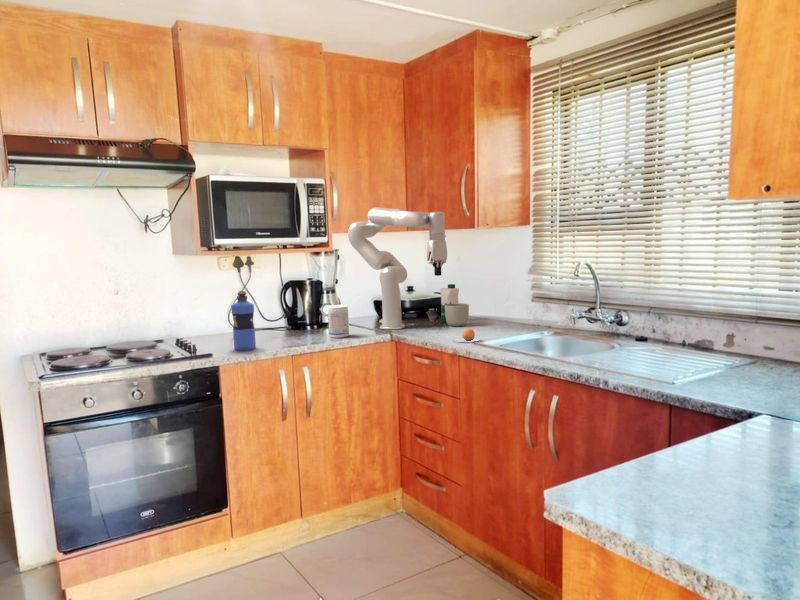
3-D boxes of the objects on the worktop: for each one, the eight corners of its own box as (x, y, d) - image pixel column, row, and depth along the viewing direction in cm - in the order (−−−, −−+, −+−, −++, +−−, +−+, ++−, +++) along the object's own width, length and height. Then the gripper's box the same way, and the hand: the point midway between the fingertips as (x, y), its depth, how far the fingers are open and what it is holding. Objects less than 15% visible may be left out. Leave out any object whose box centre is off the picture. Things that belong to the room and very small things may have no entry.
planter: (461, 328, 285) (460, 306, 284) (440, 326, 292) (440, 305, 291) (473, 324, 295) (473, 303, 294) (453, 323, 302) (452, 302, 301)
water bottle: (234, 351, 239) (231, 292, 237) (232, 347, 248) (229, 290, 245) (257, 349, 243) (254, 291, 240) (254, 345, 251) (251, 289, 249)
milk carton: (461, 320, 309) (460, 284, 307) (451, 323, 302) (451, 285, 300) (448, 319, 315) (447, 283, 313) (438, 321, 308) (437, 285, 306)
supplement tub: (330, 335, 275) (329, 304, 273) (350, 334, 275) (348, 304, 273) (327, 338, 265) (326, 307, 264) (348, 338, 265) (346, 306, 263)
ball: (464, 326, 246) (470, 336, 244) (473, 325, 250) (479, 335, 247) (457, 334, 250) (463, 344, 247) (466, 332, 253) (472, 342, 251)
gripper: (442, 237, 282) (443, 274, 284) (420, 238, 273) (421, 276, 275) (453, 237, 277) (454, 274, 279) (431, 237, 267) (432, 276, 269)
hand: (437, 275), depth 277 cm, fingers closed
